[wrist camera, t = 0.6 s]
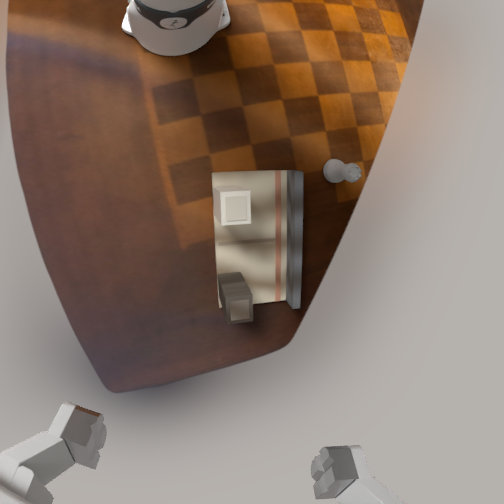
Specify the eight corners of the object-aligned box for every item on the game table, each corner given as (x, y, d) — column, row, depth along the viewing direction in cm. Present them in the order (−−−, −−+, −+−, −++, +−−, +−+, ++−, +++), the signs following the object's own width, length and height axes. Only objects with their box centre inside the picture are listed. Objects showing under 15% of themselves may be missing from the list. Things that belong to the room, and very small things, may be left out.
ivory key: (212, 186, 48) (220, 192, 39) (237, 185, 49) (250, 190, 40) (214, 213, 49) (221, 226, 40) (238, 212, 50) (251, 223, 41)
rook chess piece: (347, 168, 54) (370, 170, 46) (335, 187, 54) (357, 192, 47) (330, 154, 52) (352, 153, 45) (317, 173, 53) (338, 175, 45)
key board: (211, 172, 49) (214, 173, 44) (292, 170, 52) (303, 171, 47) (219, 305, 56) (222, 318, 51) (290, 296, 59) (300, 308, 54)
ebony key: (217, 273, 53) (225, 298, 43) (240, 271, 53) (252, 295, 44) (219, 297, 54) (227, 324, 45) (241, 295, 55) (253, 321, 45)
